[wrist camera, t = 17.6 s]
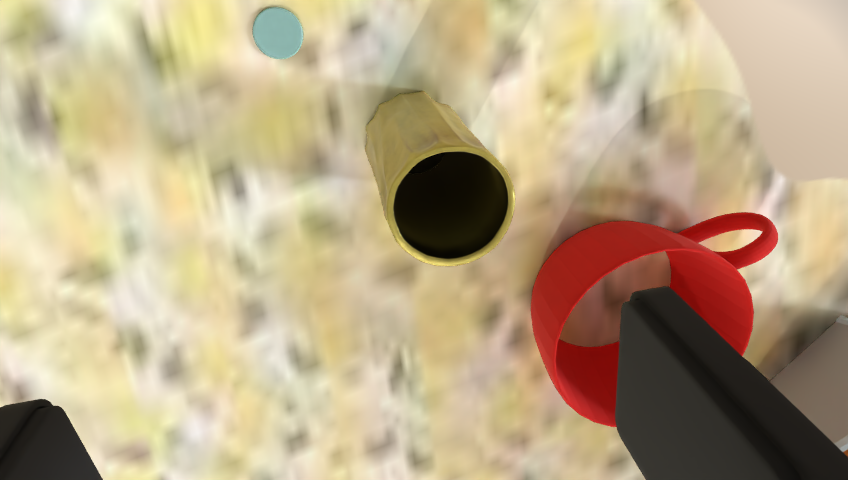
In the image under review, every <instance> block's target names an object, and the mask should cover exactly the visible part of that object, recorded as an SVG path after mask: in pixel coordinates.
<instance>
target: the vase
mask: <svg viewBox="0 0 848 480" xmlns="http://www.w3.org/2000/svg"><path fill="white" fill-rule="evenodd" d="M366 132H367V137H368V138H367V143H366V147H365V151H366V154H367V157H368V160H369V162H370V165H371V168H372V170H373V173H374V176H375V179H376V182H377V185H378V189H379V193H380V197H381V201H382V205H383V209H384V214H385V218H386V220H387V222H388V224H389V227H390V229H391V231H392V233H393V236H394V238H395V240H396V242H397V243H398V244H399V246H400V247H401V248H402V249H404V250H405V251H406V252H407V253H409V254H410V255H412V256H413V257H415V258H416V259H418V260H419V261H421V262H424V263H428V264H432V265H435V266H458V265H462V264H466V263H469V262H472V261H474V260H477V259H479V258H480V257H482V256H484V255H485V254H487V253H488V252H490V251H491V250H492V249H494V248H495V247H496V246H497V244H498V243H499V242H500V241H501V239H502V238H503V236H504V235H505V233H506V232H507V230H508V228H509V226H510V223H511V220H512V217H513V212H514V207H515V191H514V187H513V183H512V180H511V178H510V176H509V173H508V172H507V170H506V168H505V167H504V166H503V165H502V164H501V163H500V162H499V161H498V160H497V159H496V158H495V157H494V156H493V155H492V154H491V153H490V152H489V151H488V150H487V149H486V148H485V147H484V146H483V145H482V143H481V142H480V141H479V140H478V139H477V138H476V137H475V136H474V134H473V133H472V132H471V131H469V130H468V128H467V127H466V126H465V125H464V123H463V122H462V120H461V119H460V118H459V117H458V115H457V114H456V113H455V112H454V111H453V109H452V108H451V107H450V106H449V105H445V104H441V103H437V102H436V101H434V100H433V99H432V98H430V97H429V95H428V94H427V93H426V92H424V91H419V92H415V93H407V94H398V95H397V96H396V97H394V98H393V99H391V100H390V101H387V102H384V103H382V104H380V105H379V106H378V109H377V111H376V113H375V116H374V118H373V119H372V120H371V121H370V122H369V123H368V124H367V126H366ZM442 152H446V153H445V155H444V157H443V158H442V160H441V161H440V162H439V163H438V164H437V165H436V166H435V167H434V168H432V169H430V170H428V171H425V172H422V173H418V174H408V172H409V171H410V170H411V169H412V168H413V167H414V166H415V165H416V164H417V163H418V162H420V161H421V160H423V159H425V158H427V157H429V156H432V155H435V154H438V153H442Z"/></svg>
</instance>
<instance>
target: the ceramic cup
mask: <svg viewBox="0 0 848 480" xmlns="http://www.w3.org/2000/svg"><path fill="white" fill-rule="evenodd" d="M742 229H755V230H760V231H763V232H762V234H761V235H760V236H759V237H758V238H757V239H756V240H754V241H753V242H751V243H750V244H748V245H746V246H745V247H742V248H740V249H737V250H734V251H728V252H715V251H711V250H710V249H708V248H706V247H704V246H702V245H700V244H698V243H699V242H701V241H703V240H705V239H708V238H710V237H713V236H716V235H718V234H722V233H725V232H729V231H734V230H742ZM777 242H778V233H777V230H776V227H775V226H774V224H773V223H772V222H771V221H770V220H769V219H768V218H766V217H765V216H763V215H760V214H756V213H747V212H742V213H731V214H725V215H721V216H717V217H714V218H711V219H708V220H706V221H703V222H701V223H698V224H696V225H694V226H692V227H689V228H687V229H685V230H683V231H681V232H679V233H674V232H672V231H669V230H667V229H664V228H662V227H659V226H655V225H651V224H645V223H639V222H633V221H614V222H607V223H603V224H598V225H594V226H592V227H590V228H587V229H585V230H582V231H580V232H578V233H577V234H575V235H574V236H572V237H570V238H569V239H567V240H566V241H565V242H564V243H562V244H561V245H560V246H559V247H558V248H557V249H556V250H554V252H553V253H552V254H551V255H550V257H549V258H548V259H547V260H546V262H545V263H544V265H543V266H542V268H541V270H540V272H539V274H538V275H537V278H536V281H535V284H534V287H533V291H532V301H531V317H532V325H533V332H534V336H535V340H536V343H537V346H538V348H539V351H540V354H541V357H542V359H543V362H544V364H545V367H546V369H547V372H548V374H549V376H550V378H551V380H552V382H553V384H554V386H555V387H556V389H557V390H558V392H559V393H560V395H561V396H562V398H563V399H564V401H565V402H566V403H567V404H568V405H569V406H570V407H571V408H573V409H574V410H575V411H576V412H577V413H578V414H580V415H581V416H583V417H585V418H587V419H589V420H591V421H593V422H596V423H600V424H603V425H607V426H611V427H617V426H616V422H615V408H616V391H617V374H618V357H619V341H618V342H615V343H613V344H608V345H604V346H598V347H583V346H576V345H572V344H569V343H566V342H564V341H562V340H560V339H559V337H560V334H561V331H562V328H563V326H564V324H565V322H566V320H567V318H568V317H569V315H570V313H571V311H572V310H573V308H574V307H575V305H576V304H577V303H578V302H579V301H580V299H581V298H582V297H583V296H584V295H585V293H586V292H587V291H588V290H589V289H590V288H591V287H592V286H594V285H595V284H596V283H597V282H598V281H599V280H601V279H602V278H603V277H604V276H605V275H607V274H609V273H610V272H612V271H613V270H615V269H617V268H618V267H620V266H622V265H623V264H626V263H628V262H630V261H633V260H635V259H638V258H640V257H642V256H646V255H650V254H654V253H659V252H663V251H666V253H667V256H668V258H669V260H670V266H671V283H670V288H671V289H672V290H674V291H675V292H676V293H677V294H678V295H679V296H680V297H681V298H682V299H683V300H684V301H685V302H686V303H687V304H688V305H689V306H690V307H691V308H692V309H693V310H694V311H695V312H696V313H698V314H699V315H700V316H701V317H702V318H703V319H704V320H705V321H706V322H707V323H708V324H709V325H710V326H711V327H712V328H713V329H714V330H715V331H716V332H717V333H718V334H719V335H720V336H721V337H722V338H723V339H725V340H726V341H727V342H728V343H729V344H730V345H731V346H732V347H733V348H734V349H735V350H736V351H737V352H738V353H739V354H740V355H741V356H743V354H744V352H745V350H746V348H747V346H748V342H749V339H750V335H751V332H752V327H753V315H754V310H753V303H752V296H751V293H750V291H749V289H748V286H747V284H746V281H745V279H744V278H743V277H742V276H741V274H740V273H739V272H738V271H737V269H740V268H742V267H745V266H748V265H751V264H753V263H755V262H757V261H759V260H761V259H763V258H764V257H765V256H767V255H768V254H769V253H770V252H771V251H772V250H773V249H774V248H775V246H776V244H777Z"/></svg>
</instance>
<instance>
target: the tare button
mask: <svg viewBox="0 0 848 480" xmlns="http://www.w3.org/2000/svg"><path fill="white" fill-rule="evenodd" d="M253 37H254V40H255V43H256V45H257V46H258V48H259V49H260V50H261V51H262V52H263V53H264V54H266V55H267V56H269V57H271V58H275V59H286V58H289V57H291V56H293V55H294V54H295V53H296V52H297V51H298V50H299V49H300V47H301V45H302V41H303V30H302V26H301V24H300V22H299V20H298V19H297V17H296V16H295V15H294V14H293V13H291V12H290V11H288V10H286V9H284V8H280V7H271V8H268V9H265V10H263V11H262V12H261V13H260V14H259V15H258V16H257V17H256V19H255V21H254V24H253Z"/></svg>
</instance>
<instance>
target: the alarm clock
mask: <svg viewBox="0 0 848 480" xmlns="http://www.w3.org/2000/svg"><path fill="white" fill-rule="evenodd" d="M769 382H770V383H772V384H773V385H774V386H775V387H776V388H777V389H778V390H779V391H780V392H781V393H782V394H783V395H784V396H785V397H786V398H787V399H788V400H789V401H790V402H791V403H792V404H793V405H794V406H795V407H797V408H798V409H799V410H800V411H801V412H802V413H803V414H804V415H805V416H806V417H807V418H808V419H809V420H810V421H811V422H812V423H813V424H814V425H815V426H816V427H817V428H818V429H819V430H820V431H822V432H823V433H824V434H825V435H826V436H827V437H828V438H829V439H830V440H831V441H832V442H833V443H834V444H835V445H836V446H837V447H838V448H839V449H840V450H841V451H842V452H843V453H844V454H845V455H847V456H848V317H845V316H840V317H837V319H836V322H835V323H834V324H833V325H831V326H830V327H829V328H828V329H827V330H826V331H825V332H824V333H823V334H822V335H820V336H819V337H818V338H817V339H816V340H815V341H814V342H813V343H812V344H811V345H809V346H808V347H807V348H806V349H805V350H804V351H803V352H802V353H801V354H800V355H798V356H797V357H796V358H795V359H794V360H793V361H791V362H790V363H789V364H788V365H787V366H786V367H785V368H784V369H783V370H782V371H781V372H779V373H778V374H777V375H776V376H775V377H774V378H773V379H772V380H771V381H769Z"/></svg>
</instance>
